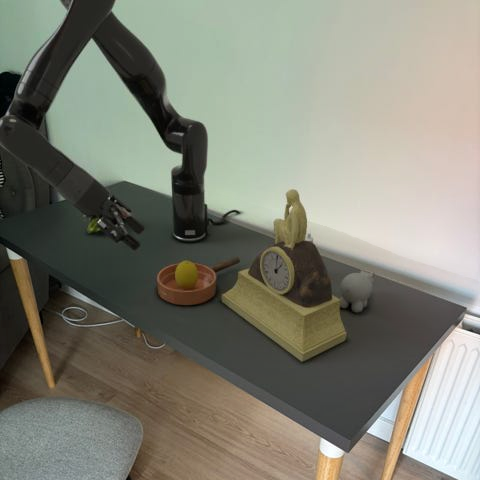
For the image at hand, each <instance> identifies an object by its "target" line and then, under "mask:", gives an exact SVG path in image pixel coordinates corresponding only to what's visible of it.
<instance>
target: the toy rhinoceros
mask: <svg viewBox="0 0 480 480" xmlns="http://www.w3.org/2000/svg"><path fill="white" fill-rule="evenodd" d="M374 277H375V272H374V271H373V272H368V271H365V269H364V268H363V267H361V269H360V272H352V273H350V274H347V275H346V276H345V277H344V278H343V279H342V281H341V282H340V293H341V296H340V297H338V299H340V308H341V309H347V308H348V307H349V305H350V306H351V311H352V312H354V313H355V314H356V313H361V312H362V311H363V309H364V308H366V307H367V305H368V299H369V298H370V296H371V294H372V292H373V285H374V283H375V279H374Z"/></svg>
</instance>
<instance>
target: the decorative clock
mask: <svg viewBox="0 0 480 480" xmlns="http://www.w3.org/2000/svg"><path fill="white" fill-rule="evenodd" d="M285 196H286V205H285V210H284V214H283V215H284V216H283V217H284V219H283V218H276V219H274V220H273V236H274V240H275V242H274V243H275V244H273V245H272V246H271V247H269V248H266V249H263V251H262V252H260V253H259V254H258V255H256V257H255V258H254V260H253V261H252V263H251V264H250V267H249V268H246V269H242V270H240V271H238V274H237V280H236V283H235V284H234V286H233V287H232V288H231V289H229V290H228V291H226V292H224V293H221V302H222V303H223V304H224V305H226V306H227V307H228V308H230V309H231V310H232V311H234V312H235V313H236V314H237V315H238V316H240V317H242V319H244V320H245V321H246V322H248V323H250V324H251V325H252V326H254V328H255V329H258V330H259V331H260V332H261V333H263V334H264V335H266V336H267V337H268V338H269V339H270V340H272V341H273V342H275V343H276V344H278V345H279V346H280V347H282V348H283V349H284V350H285V351H286V352H288V353H289V354H291V355H292V356H293V357H294V358H296V359H297V360H299V361H300V362H302V363H303V362H305V361H308V360H309V359H311V358H313V357H315V356H318V355H319V354H321V353H323V352H325V351H327V350H329V349H331V348H333V347H336V346H337V345H339V344H341V343H343V342H345V341H346V339H347V335H348V334H347V333H348V332H347V331H346V328H345V325H344V324H343V321H342V318H341V311H340V308H341V307H340V299H339V297H337V296H335V295H334V294H333V291H332V281H331V279H330V276H329V274H328V270H327V267H326V264H325V262H324V260H323V258H322V256H321V254H320V252H319V250H318V249H317V248H318V247H317V246H316V244H315V243H314V242H313V243H312V242H310V241H305V237H307V233H308V231H307V230H308V218H307V212H306V210H305V207H304V205H303V204H302V202H301V200H300V193H299V191H298V190H297V189H294V188H293V189H289V190H288V191H286V192H285ZM290 208H291V209H290Z"/></svg>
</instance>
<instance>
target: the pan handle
mask: <svg viewBox="0 0 480 480" xmlns="http://www.w3.org/2000/svg"><path fill="white" fill-rule="evenodd" d="M240 262H241V258H240V257H238V256H234V257H232V258H230V259H227V260H224V261H222V262H220V263H217V264H215V265H212V266H210V267H209V268H211V269H212V270H213V271H214V272H215V273H219V272H221V271H224V270H225V269H228V268H230V267H233V266H236V265H237V264H239V263H240ZM206 272H207V274H208V273H209V272H208V271H206Z"/></svg>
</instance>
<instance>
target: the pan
mask: <svg viewBox="0 0 480 480" xmlns="http://www.w3.org/2000/svg"><path fill="white" fill-rule="evenodd" d="M180 263H181V262H179V263H173V264H170V265H168V266H165V267H164V268H162V269H161V270H160V271H159V272H158V273H157V275H156V276H157V277H156V283H157V293H158V295H159V296H160V297H159V298H161V299H163V300H164V301H166V302H168V303H170V304H173V305H181V306H193V305H198V304H202V303H205V302H207V301H209V300H210V299H212V298H213V297H215V295H216V292H217V274H216V273H217V272H216V273H215V272H214V271H213V270H212V269H211V268H210V267H209V266H207V265H205V264H201V263H197V262H192V263H193V264H194V265H195V266H196V268H197V271H198V281H197V283H196V285H195V286H194V287H192V288H190V289H188V290H186V289H184V288H181V287H180V286H179V285H178V284H177V282H176V278H175V272H176V268H177V266H178V265H179V264H180ZM206 271H208V272H209V273H208V274H207V272H206Z"/></svg>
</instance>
